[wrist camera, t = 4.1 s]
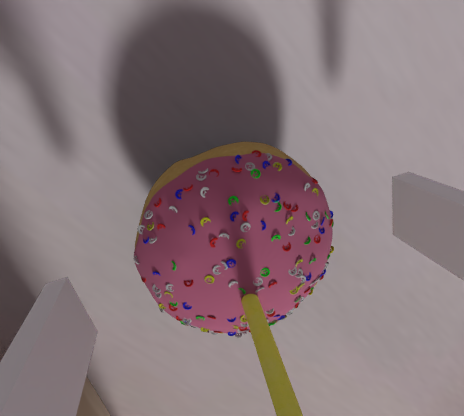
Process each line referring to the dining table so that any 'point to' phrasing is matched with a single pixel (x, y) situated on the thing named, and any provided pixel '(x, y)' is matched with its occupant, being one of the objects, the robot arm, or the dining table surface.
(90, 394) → the tower base
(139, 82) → the dining table surface
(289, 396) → the cupcake
